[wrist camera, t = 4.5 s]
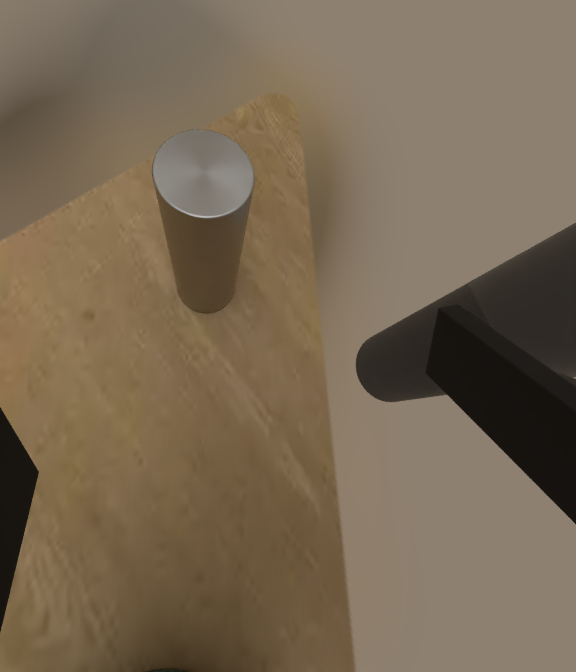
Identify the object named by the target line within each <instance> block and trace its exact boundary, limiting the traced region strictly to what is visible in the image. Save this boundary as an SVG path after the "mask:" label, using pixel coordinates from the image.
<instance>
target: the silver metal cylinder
mask: <svg viewBox="0 0 576 672" xmlns="http://www.w3.org/2000/svg"><path fill="white" fill-rule="evenodd" d="M152 176H153V181H154V186H155V190H156V195H157V199H158V204H159V208H160V213H161V217H162V222H163V226H164V231H165V235H166V240H167V244H168V249H169V253H170V258H171V262H172V267H173V271H174V276H175V281H176V285H177V290H178V293H179V296H180V298H181V300H182V301H183V302H184V304H185V305H187V306H188V307H189V308H191V309H192V310H194V311H197V312H201V313H212V312H216V311H218V310H220V309H222V308H224V307H225V306H226V305H227V304H228V303H229V302H230V300H231V298H232V296H233V293H234V288H235V283H236V278H237V272H238V267H239V262H240V256H241V251H242V246H243V240H244V235H245V230H246V225H247V219H248V214H249V209H250V203H251V198H252V193H253V187H254V179H255V177H254V170H253V166H252V163H251V161H250V159H249V157H248V155H247V154H246V152H245V151H244V150H243V149H242V148H241V147H240V145H238V144H237V143H236V142H235V141H233V140H232V139H230V138H229V137H227V136H225V135H223V134H220V133H218V132H214V131H210V130H201V129H197V130H188V131H184V132H181V133H178V134H176V135H174V136H172V137H171V138H169V139H168V140H167V141H165V142H164V143H163V144H162V145H161V147H160V148H159V150H158V151H157V153H156V155H155V157H154V161H153V166H152Z"/></svg>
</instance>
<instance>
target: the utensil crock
mask: <svg viewBox="0 0 576 672" xmlns="http://www.w3.org/2000/svg"><path fill="white" fill-rule="evenodd" d="M147 672H185V671H180V670H172V669H160V670H151V671H147Z"/></svg>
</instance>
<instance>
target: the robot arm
mask: <svg viewBox="0 0 576 672" xmlns="http://www.w3.org/2000/svg"><path fill="white" fill-rule="evenodd" d="M426 374H427V375H428V376H429V377H430V378H431V379H432V380H433V381H434V382H435V383H436V384H437V385H438V386H439V387H440V388H441V389H442V390H443V391H444V392H445V393H446V394H447V395H448V396H449V397H450V398H451V399H452V400H453V401H454V402H455V403H456V404H457V405H458V406H459V407H460V408H461V409H462V410H463V411H464V412H465V413H466V414H467V415H468V416H469V417H470V418H471V419H472V420H473V421H474V422H475V423H476V424H477V425H478V426H479V427H480V428H481V429H482V430H483V431H484V432H485V433H486V434H487V435H488V436H489V437H490V438H491V439H492V440H493V441H494V442H495V443H496V444H497V445H498V446H499V447H500V448H501V449H502V450H503V451H504V452H505V453H506V454H507V455H508V456H509V457H510V458H511V459H512V460H513V461H514V462H515V463H516V464H517V465H518V466H519V467H520V468H521V469H522V470H523V471H524V472H525V473H526V474H527V475H528V476H529V477H530V478H531V479H532V480H533V481H534V482H535V483H536V484H537V485H538V486H539V487H540V488H541V490H542V491H544V493H545V494H546V495H547V496H548V497H549V498H550V499H551V500H553V501H554V503H555V504H556V505H557V506H558V507H559V508H560V509H561V510H562V511H563V512H565V514H566V515H567V516H568V517H569V518H570V519H571V520H572V521H573V522H574V523H575V524H576V379H574V378H572V377H570V376H567V375H565V374H563V373H559V374H557V373H556V372H554V371H553V370H551V369H550V368H549V367H547V366H546V365H544V364H543V363H541V362H540V361H538V360H537V359H536V358H534V357H533V356H531V355H530V354H528V353H527V352H526V351H524V350H523V349H521V348H520V347H518V346H517V345H515V344H514V343H513V342H511V341H510V340H508V339H507V338H505V337H504V336H503V335H501V334H500V333H498V332H497V331H495V330H494V329H493V328H491V327H490V326H488V325H487V324H485V323H484V322H482V321H481V320H480V319H478V318H477V317H475V316H474V315H472V314H471V313H470V312H468V311H467V310H465V309H464V308H462V307H461V306H459V305H453V306H448V307H444V308H439V309H438V314H437V319H436V324H435V329H434V334H433V339H432V344H431V349H430V354H429V359H428V364H427V369H426ZM38 473H39V471H38V470H37V468H36V466H35V465H34V463H33V461H32V460H31V458H30V456H29V455H28V453H27V451H26V450H25V448H24V446H23V445H22V443H21V441H20V440H19V438H18V436H17V435H16V433H15V431H14V430H13V428H12V426H11V425H10V423H9V421H8V420H7V418H6V416H5V414H4V413H3V411H2V409H1V408H0V631H1V627H2V623H3V619H4V615H5V610H6V606H7V602H8V598H9V594H10V590H11V586H12V581H13V577H14V573H15V569H16V565H17V561H18V556H19V552H20V548H21V544H22V540H23V536H24V532H25V527H26V523H27V519H28V515H29V511H30V507H31V502H32V498H33V494H34V490H35V486H36V482H37V478H38Z"/></svg>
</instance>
